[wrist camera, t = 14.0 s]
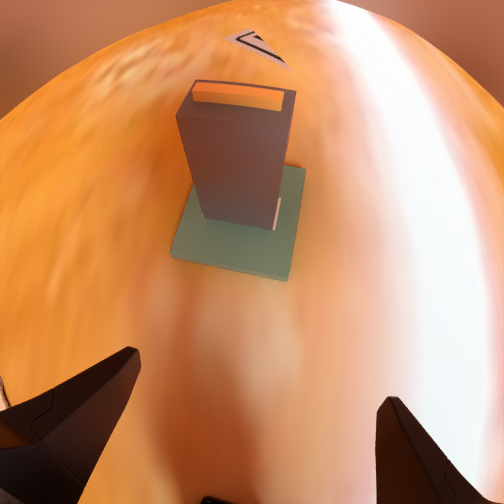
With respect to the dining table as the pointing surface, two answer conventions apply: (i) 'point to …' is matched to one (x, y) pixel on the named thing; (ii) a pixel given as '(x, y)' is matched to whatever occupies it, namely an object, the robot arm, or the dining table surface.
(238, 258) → the board
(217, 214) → the block
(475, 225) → the dining table surface
